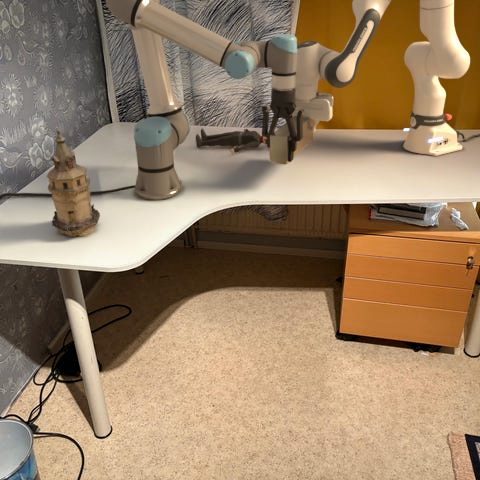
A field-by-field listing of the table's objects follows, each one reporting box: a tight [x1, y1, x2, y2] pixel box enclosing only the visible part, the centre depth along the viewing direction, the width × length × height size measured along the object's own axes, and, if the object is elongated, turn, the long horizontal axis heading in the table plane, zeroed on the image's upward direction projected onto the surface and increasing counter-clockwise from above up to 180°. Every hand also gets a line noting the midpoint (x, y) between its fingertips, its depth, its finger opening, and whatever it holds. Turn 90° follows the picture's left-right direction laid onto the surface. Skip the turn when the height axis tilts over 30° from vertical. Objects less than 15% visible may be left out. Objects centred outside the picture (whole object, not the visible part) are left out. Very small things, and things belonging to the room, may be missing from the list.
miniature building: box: [46, 129, 101, 237], centre depth 148 cm, size 13×14×30 cm
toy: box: [195, 127, 267, 155], centre depth 214 cm, size 26×6×30 cm
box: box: [269, 116, 315, 165], centre depth 183 cm, size 27×6×9 cm, turn 155°
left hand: (281, 158), depth 177 cm, fingers closed on box, 6 cm apart
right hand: (302, 130), depth 192 cm, fingers closed on box, 6 cm apart
